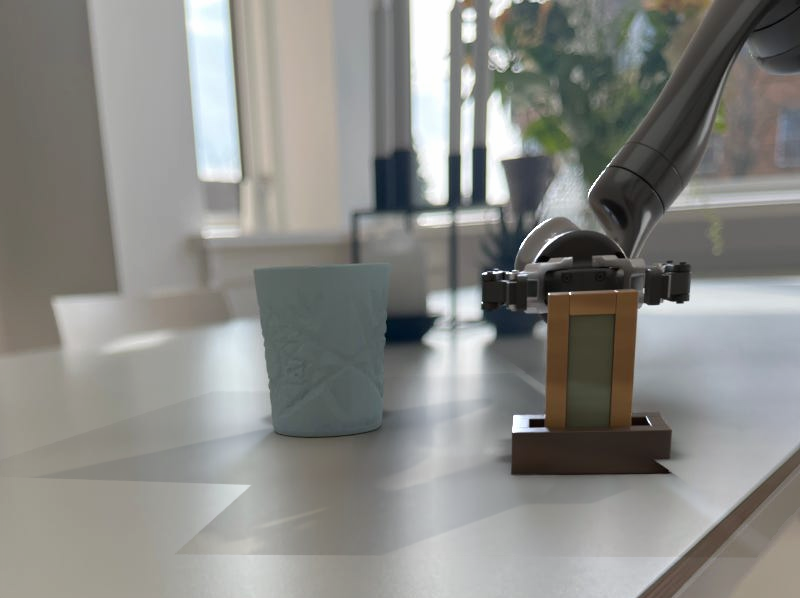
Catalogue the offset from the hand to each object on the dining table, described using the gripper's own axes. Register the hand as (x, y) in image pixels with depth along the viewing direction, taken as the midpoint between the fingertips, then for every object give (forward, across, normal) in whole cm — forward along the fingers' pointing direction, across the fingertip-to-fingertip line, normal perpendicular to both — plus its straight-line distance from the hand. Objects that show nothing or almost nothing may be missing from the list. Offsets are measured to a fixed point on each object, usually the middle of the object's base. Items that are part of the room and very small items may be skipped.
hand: (587, 290), depth 68 cm
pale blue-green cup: (-7, +19, -10) cm, 22 cm away
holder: (+8, 0, -10) cm, 13 cm away
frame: (+8, 0, -10) cm, 13 cm away
